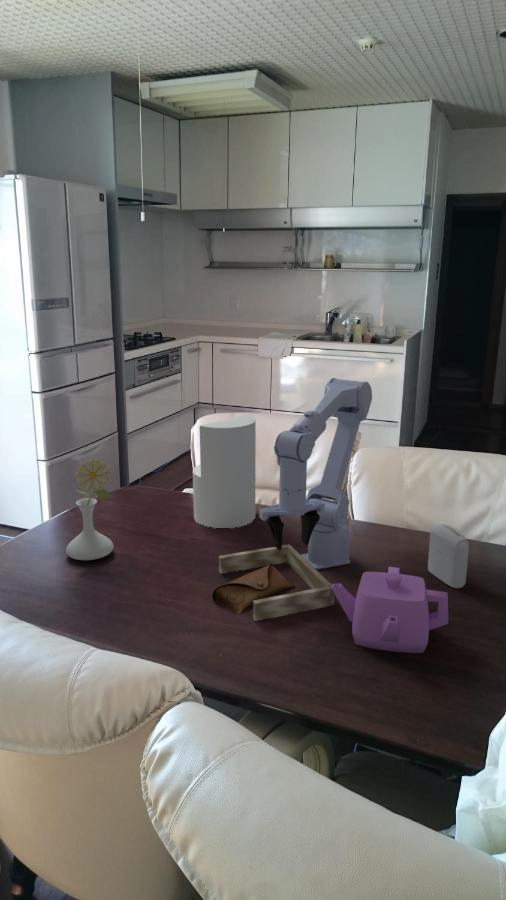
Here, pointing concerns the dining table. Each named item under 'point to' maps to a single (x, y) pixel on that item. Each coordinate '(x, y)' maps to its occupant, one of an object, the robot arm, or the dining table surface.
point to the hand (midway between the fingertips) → (291, 545)
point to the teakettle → (392, 611)
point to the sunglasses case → (251, 588)
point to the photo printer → (448, 555)
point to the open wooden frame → (286, 603)
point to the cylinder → (226, 473)
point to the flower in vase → (90, 512)
